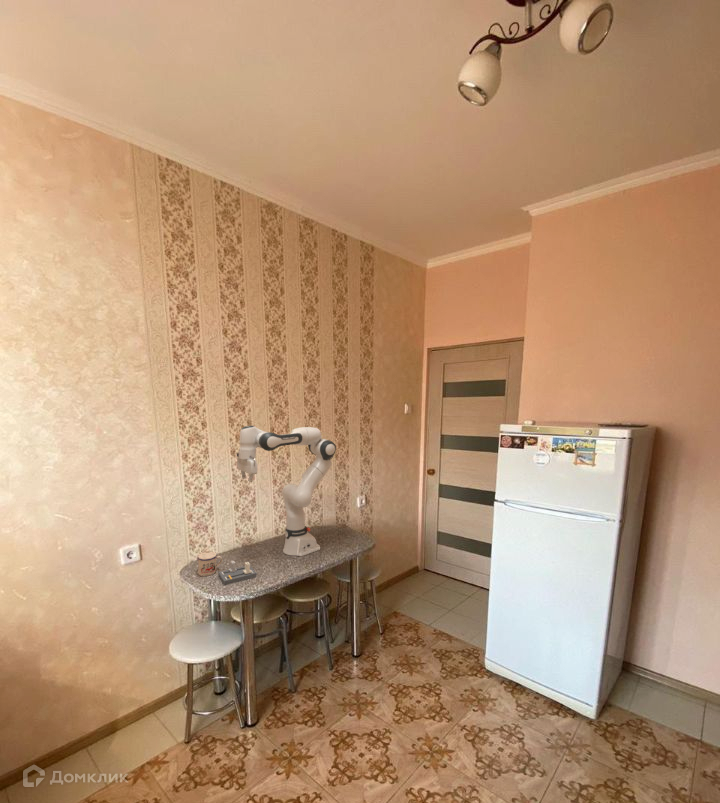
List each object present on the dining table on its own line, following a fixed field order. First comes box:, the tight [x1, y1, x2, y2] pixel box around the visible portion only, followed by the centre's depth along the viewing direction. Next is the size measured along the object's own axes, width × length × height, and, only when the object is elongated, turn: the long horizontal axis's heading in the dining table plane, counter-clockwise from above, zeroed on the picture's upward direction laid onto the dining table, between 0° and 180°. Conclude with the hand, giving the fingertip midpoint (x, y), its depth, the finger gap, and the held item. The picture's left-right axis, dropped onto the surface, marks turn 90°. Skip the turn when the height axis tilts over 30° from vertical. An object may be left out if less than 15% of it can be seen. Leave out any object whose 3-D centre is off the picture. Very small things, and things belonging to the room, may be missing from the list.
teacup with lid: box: [197, 549, 223, 577], centre depth 190 cm, size 12×9×12 cm
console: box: [218, 560, 257, 586], centre depth 186 cm, size 16×11×7 cm
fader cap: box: [243, 561, 251, 574], centre depth 186 cm, size 3×3×5 cm
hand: (246, 479), depth 201 cm, fingers open, 8 cm apart
